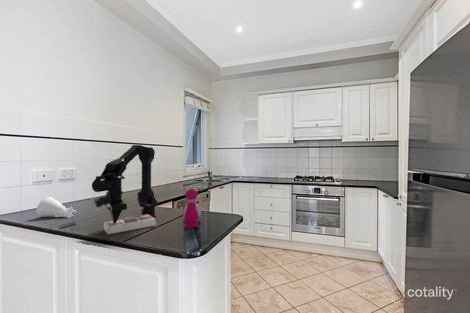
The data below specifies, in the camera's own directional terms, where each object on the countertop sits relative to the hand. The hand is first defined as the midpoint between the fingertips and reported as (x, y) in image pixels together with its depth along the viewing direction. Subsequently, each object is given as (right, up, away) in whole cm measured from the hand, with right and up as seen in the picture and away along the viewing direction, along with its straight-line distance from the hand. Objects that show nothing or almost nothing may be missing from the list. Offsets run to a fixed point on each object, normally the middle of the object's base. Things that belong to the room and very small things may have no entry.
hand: (114, 222), depth 112 cm
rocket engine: (-46, -4, +25) cm, 53 cm away
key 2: (+11, -1, +9) cm, 14 cm away
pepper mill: (+35, -4, +6) cm, 36 cm away
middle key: (+5, -1, +4) cm, 7 cm away
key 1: (0, -2, 0) cm, 2 cm away
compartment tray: (+5, -4, +4) cm, 8 cm away
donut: (+33, -4, +18) cm, 38 cm away
